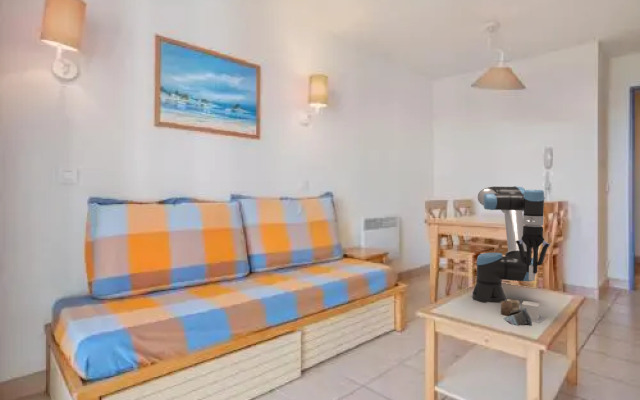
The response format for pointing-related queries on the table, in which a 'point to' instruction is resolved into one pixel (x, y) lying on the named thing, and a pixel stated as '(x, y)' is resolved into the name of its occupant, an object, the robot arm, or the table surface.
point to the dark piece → (519, 317)
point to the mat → (539, 319)
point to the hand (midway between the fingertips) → (531, 280)
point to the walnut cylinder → (506, 308)
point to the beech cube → (514, 304)
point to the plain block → (532, 309)
